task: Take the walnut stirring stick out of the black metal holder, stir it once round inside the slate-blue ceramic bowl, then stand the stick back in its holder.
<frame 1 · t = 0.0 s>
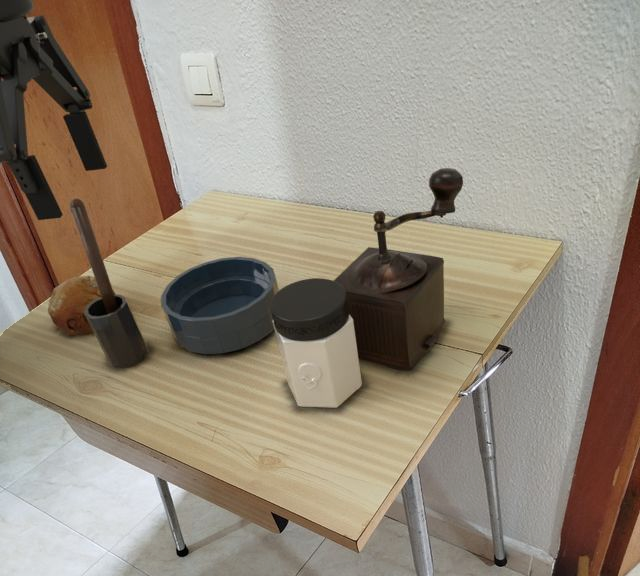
hand: (75, 191, 70), 20 cm above the table, tool pointing down, fingers open, 13 cm apart
bread roll: (91, 319, 89), on the table
manual coffee grinder: (402, 329, 75), on the table
stick: (127, 352, 80), point 1 cm above the table, tilted 11°, touching holder
jar: (325, 386, 70), on the table
holder: (129, 355, 80), on the table
bowl: (229, 324, 82), on the table
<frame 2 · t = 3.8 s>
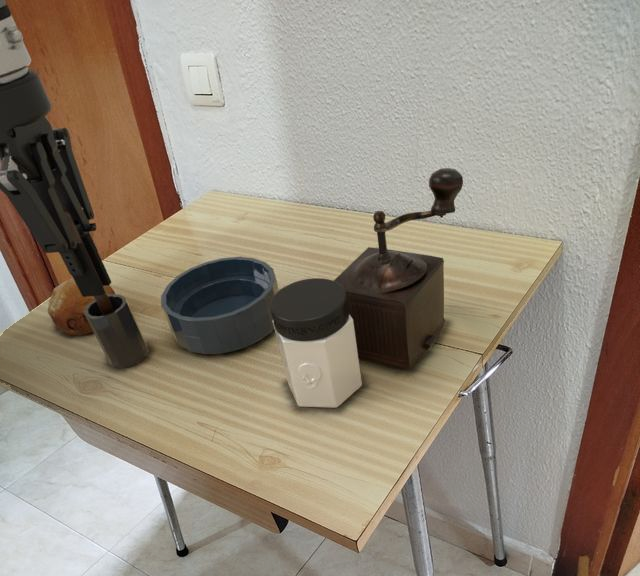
hand: (97, 289, 73), 10 cm above the table, tool pointing down, fingers closed on stick, 1 cm apart
stick: (127, 352, 80), point 1 cm above the table, touching gripper
everything else where it was.
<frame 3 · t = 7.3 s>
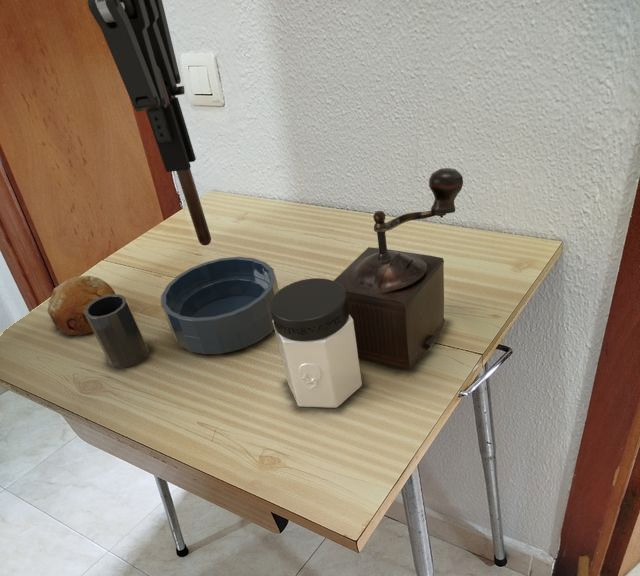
hand: (181, 165, 67), 22 cm above the table, tool pointing down, fingers closed on stick, 1 cm apart
stick: (206, 244, 74), point 12 cm above the table, touching gripper
everything else where it was.
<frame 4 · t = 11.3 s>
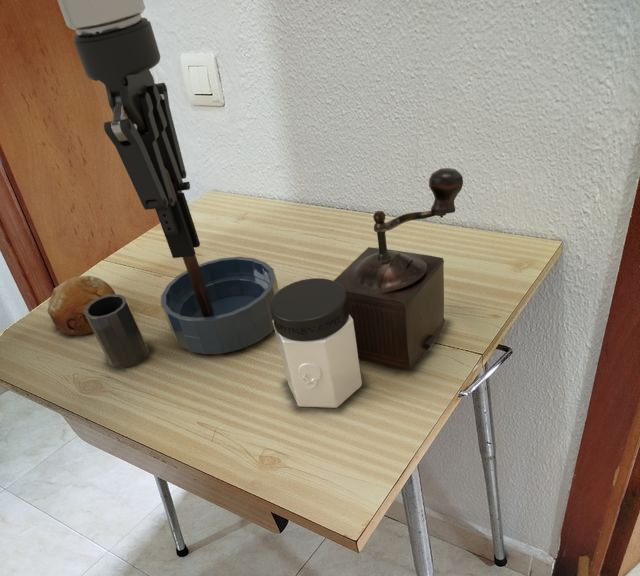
hand: (186, 250, 72), 13 cm above the table, tool pointing down, fingers closed on stick, 1 cm apart
stick: (209, 317, 79), point 3 cm above the table, touching gripper
everything else where it was.
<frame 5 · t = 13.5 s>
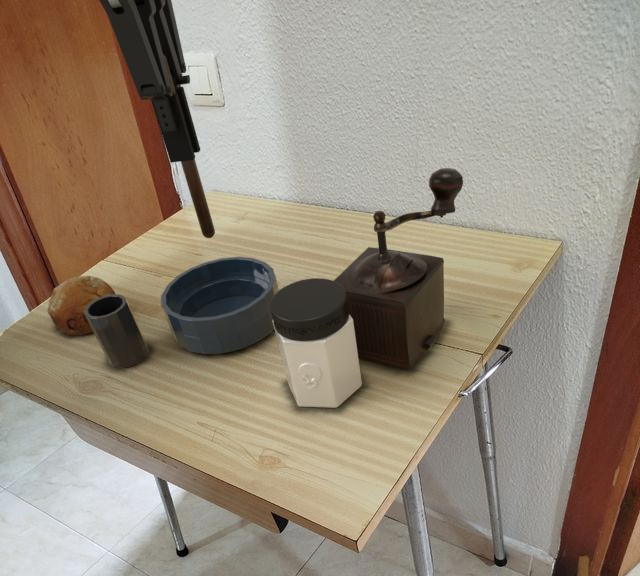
hand: (185, 155, 66), 23 cm above the table, tool pointing down, fingers closed on stick, 1 cm apart
stick: (210, 237, 73), point 13 cm above the table, touching gripper
everything else where it was.
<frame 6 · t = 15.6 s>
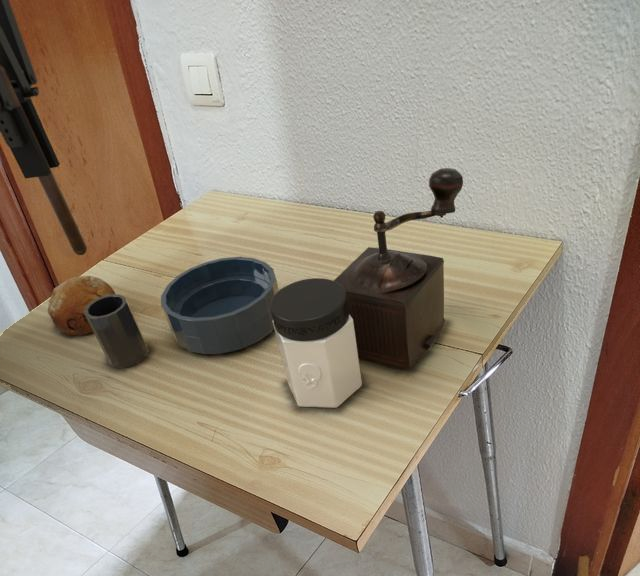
hand: (42, 171, 63), 25 cm above the table, tool pointing down, fingers closed on stick, 1 cm apart
stick: (82, 254, 70), point 15 cm above the table, touching gripper
everything else where it was.
when the fingers open (10 cm above the table, at t = 18.9 s): stick stays where it is, resting on holder.
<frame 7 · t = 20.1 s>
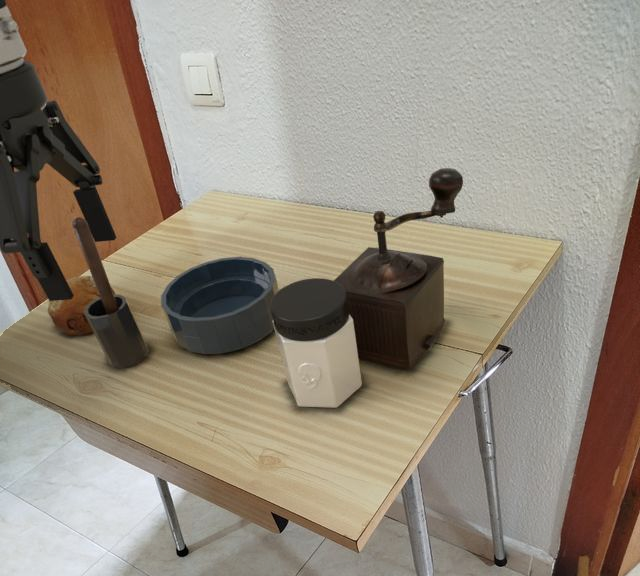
hand: (85, 267, 71), 14 cm above the table, tool pointing down, fingers open, 13 cm apart
stick: (128, 352, 80), point 1 cm above the table, tilted 10°, touching holder
everything else where it was.
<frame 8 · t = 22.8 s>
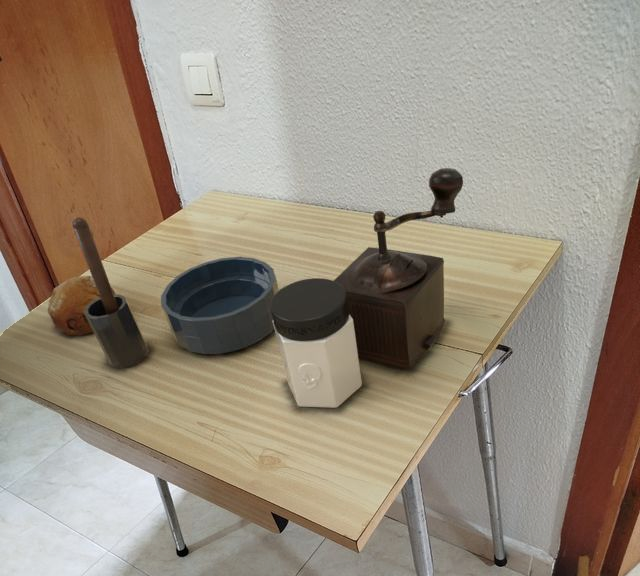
nothing on the table moved.
at the end: stick 0.1 cm off-centre in the holder, point 0.6 cm above the holder's base; stick tilted 10°; the gripper is holding nothing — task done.
